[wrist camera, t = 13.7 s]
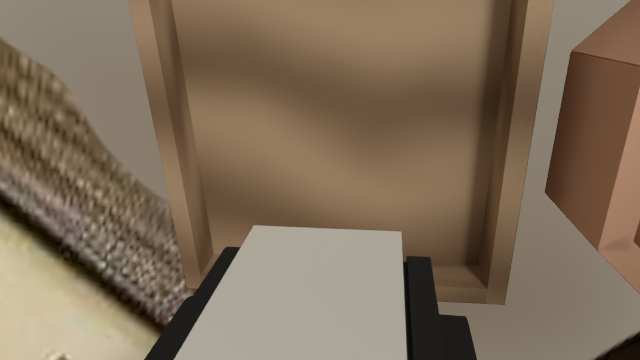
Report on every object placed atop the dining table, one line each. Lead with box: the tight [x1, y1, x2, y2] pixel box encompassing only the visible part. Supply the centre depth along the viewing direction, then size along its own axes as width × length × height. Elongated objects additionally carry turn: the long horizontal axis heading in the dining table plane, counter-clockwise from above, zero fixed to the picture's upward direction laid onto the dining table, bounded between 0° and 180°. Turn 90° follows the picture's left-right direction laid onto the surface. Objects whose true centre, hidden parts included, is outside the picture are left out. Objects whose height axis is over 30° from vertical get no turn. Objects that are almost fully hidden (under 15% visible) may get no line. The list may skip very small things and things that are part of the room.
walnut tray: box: [128, 0, 554, 305], centre depth 16 cm, size 19×15×2 cm
